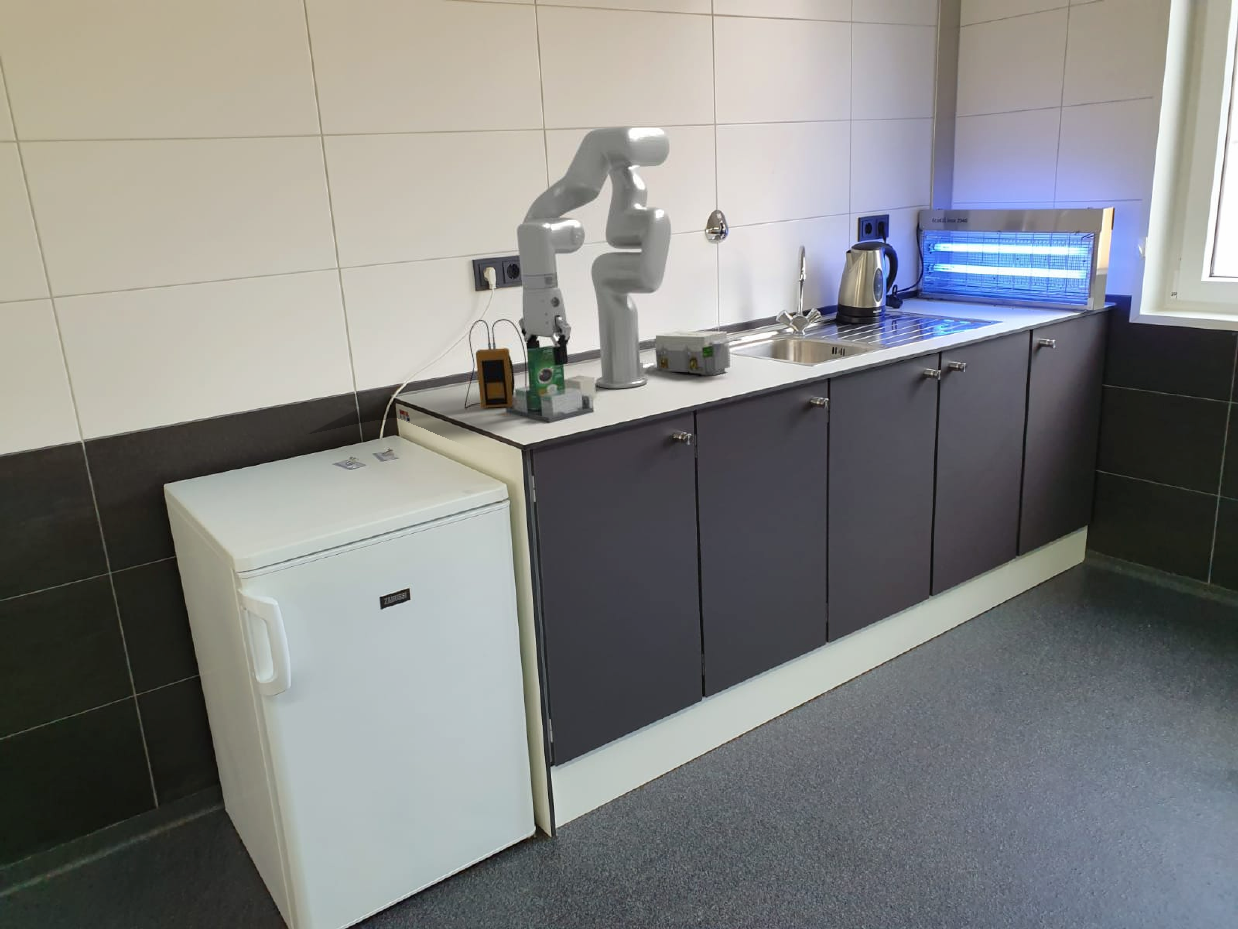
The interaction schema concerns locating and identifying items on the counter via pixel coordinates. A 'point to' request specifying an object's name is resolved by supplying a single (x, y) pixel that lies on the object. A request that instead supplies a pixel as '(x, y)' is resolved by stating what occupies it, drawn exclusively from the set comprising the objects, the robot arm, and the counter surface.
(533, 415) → the rail base
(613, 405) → the counter surface
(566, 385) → the block
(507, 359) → the multimeter
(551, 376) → the coffee box
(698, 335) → the grey electrical enclosure
